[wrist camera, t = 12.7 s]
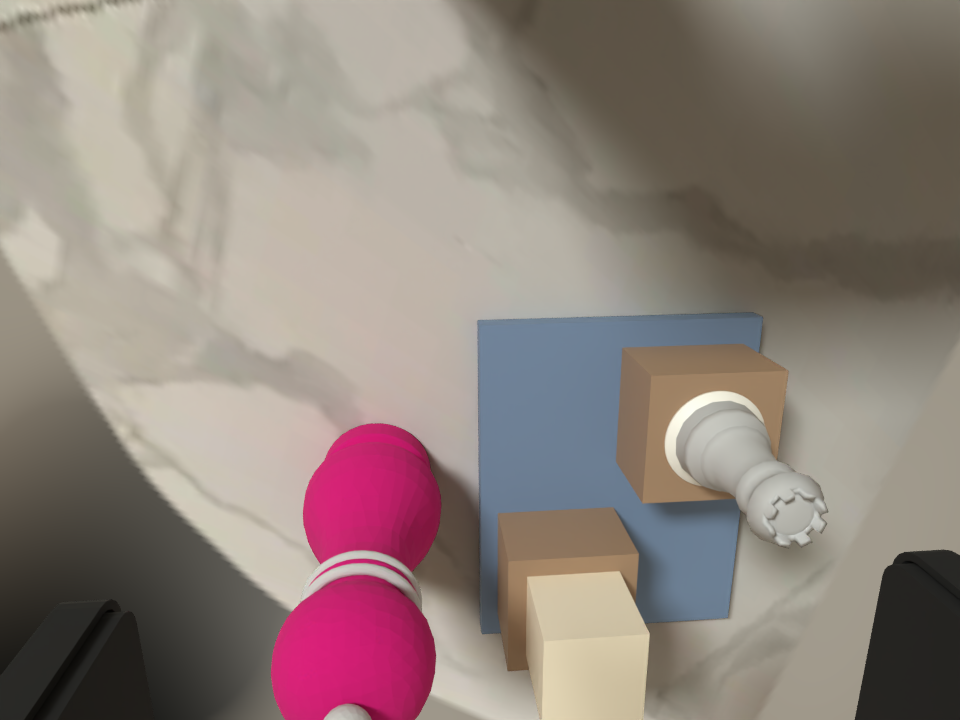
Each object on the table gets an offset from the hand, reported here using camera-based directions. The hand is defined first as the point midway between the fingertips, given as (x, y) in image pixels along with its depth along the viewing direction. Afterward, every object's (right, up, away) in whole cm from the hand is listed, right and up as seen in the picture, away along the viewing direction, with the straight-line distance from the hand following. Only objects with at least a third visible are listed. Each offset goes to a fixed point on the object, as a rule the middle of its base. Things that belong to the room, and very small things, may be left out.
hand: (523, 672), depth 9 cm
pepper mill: (-7, -3, +32) cm, 33 cm away
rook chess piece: (+11, 0, +26) cm, 29 cm away
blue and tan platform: (+7, -3, +33) cm, 34 cm away
